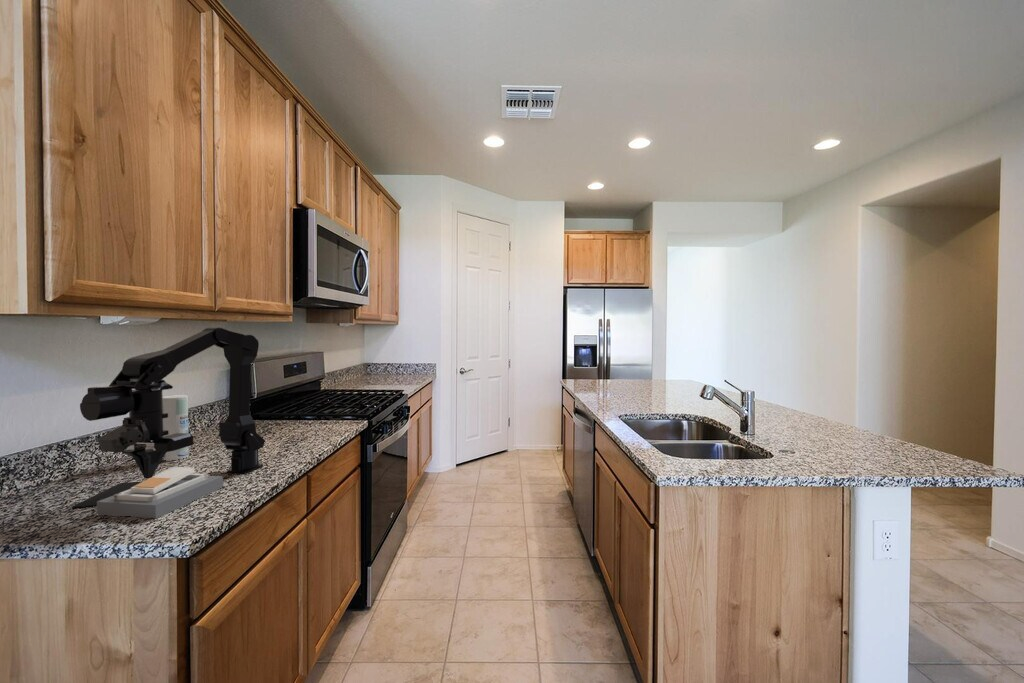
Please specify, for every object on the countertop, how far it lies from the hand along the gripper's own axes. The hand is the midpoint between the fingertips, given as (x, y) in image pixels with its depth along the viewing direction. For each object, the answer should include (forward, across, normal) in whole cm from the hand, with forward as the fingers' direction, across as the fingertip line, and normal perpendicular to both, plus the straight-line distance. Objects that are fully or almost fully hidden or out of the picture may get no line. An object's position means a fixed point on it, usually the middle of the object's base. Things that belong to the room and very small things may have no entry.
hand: (148, 478), depth 91 cm
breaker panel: (+7, 0, +4) cm, 8 cm away
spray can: (+7, -28, +32) cm, 43 cm away
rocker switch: (+2, 0, +4) cm, 4 cm away
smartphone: (+7, -16, +5) cm, 19 cm away
